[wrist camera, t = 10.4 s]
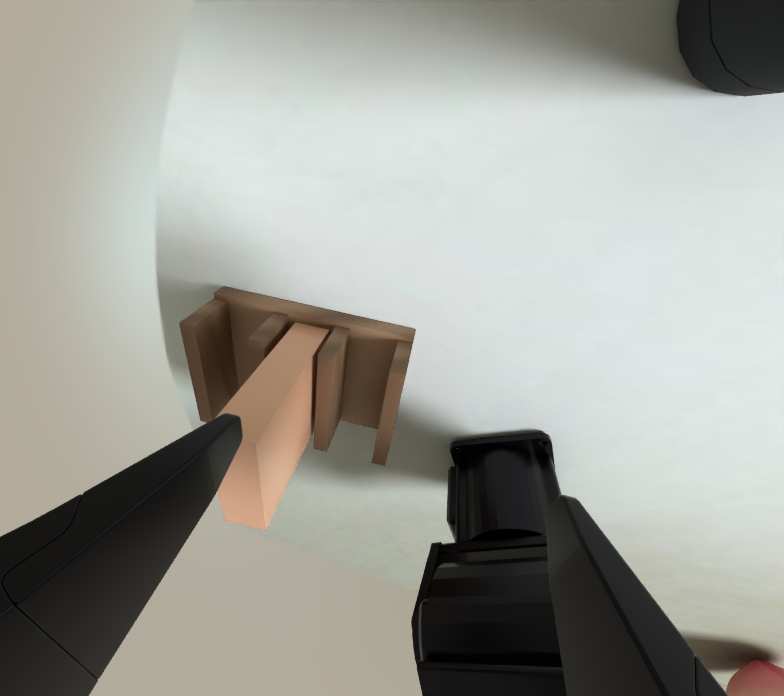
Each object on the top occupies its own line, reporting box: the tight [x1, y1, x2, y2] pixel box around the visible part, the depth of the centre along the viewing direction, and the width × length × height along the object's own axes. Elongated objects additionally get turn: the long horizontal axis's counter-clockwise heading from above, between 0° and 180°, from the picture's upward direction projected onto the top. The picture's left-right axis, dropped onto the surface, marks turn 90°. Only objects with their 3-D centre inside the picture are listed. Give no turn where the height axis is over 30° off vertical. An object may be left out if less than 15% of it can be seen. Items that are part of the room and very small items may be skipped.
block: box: [216, 322, 329, 531], centre depth 18 cm, size 2×6×8 cm, turn 172°
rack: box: [179, 287, 416, 466], centre depth 21 cm, size 12×8×4 cm, turn 81°
